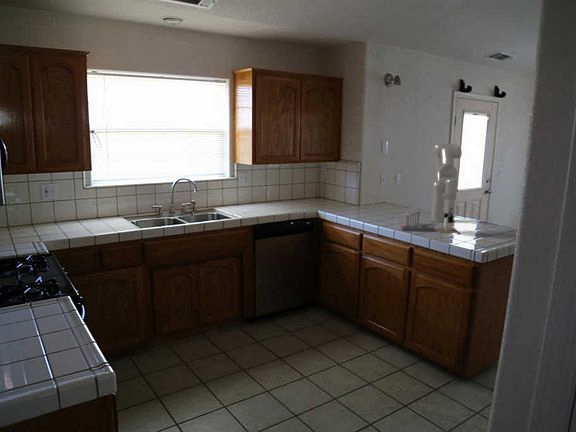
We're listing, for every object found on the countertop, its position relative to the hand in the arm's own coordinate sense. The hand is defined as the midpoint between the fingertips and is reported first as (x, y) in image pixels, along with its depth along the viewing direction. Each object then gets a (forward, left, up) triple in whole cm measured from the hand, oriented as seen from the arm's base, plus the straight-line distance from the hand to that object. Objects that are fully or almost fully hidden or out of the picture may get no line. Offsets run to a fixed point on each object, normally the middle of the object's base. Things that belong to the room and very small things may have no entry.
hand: (448, 221), depth 307 cm
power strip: (0, -21, -8) cm, 22 cm away
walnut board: (0, 0, -8) cm, 8 cm away
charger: (0, 0, -7) cm, 7 cm away
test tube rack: (-15, -21, -8) cm, 27 cm away
